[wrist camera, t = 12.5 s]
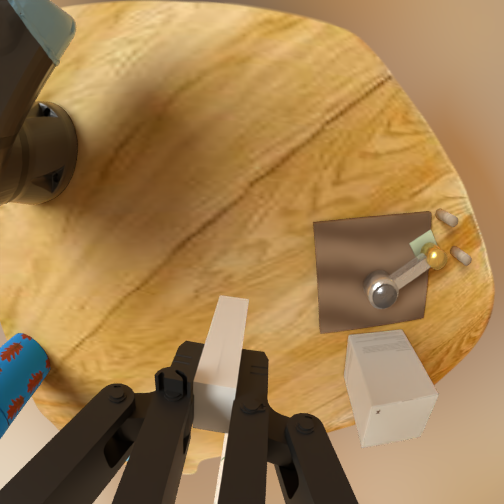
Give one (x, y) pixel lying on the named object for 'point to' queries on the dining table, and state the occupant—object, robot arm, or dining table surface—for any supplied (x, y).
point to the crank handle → (401, 276)
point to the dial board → (372, 266)
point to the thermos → (19, 375)
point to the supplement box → (387, 388)
